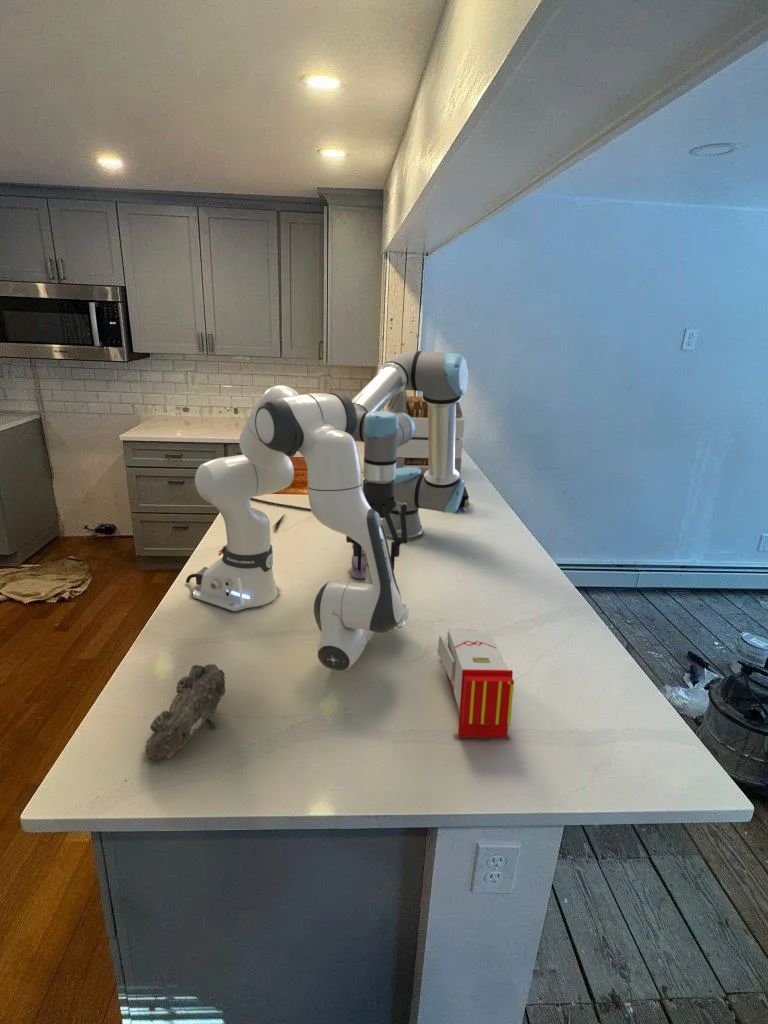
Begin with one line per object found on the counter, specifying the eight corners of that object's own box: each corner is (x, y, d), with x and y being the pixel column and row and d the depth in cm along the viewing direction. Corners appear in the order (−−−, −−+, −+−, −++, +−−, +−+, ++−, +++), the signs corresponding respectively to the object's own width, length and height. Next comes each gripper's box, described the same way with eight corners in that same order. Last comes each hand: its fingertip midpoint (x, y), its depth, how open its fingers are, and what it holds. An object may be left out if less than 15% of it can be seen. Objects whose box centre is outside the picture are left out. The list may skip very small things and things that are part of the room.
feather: (291, 508, 223) (294, 504, 222) (274, 533, 196) (277, 528, 195) (287, 506, 222) (290, 502, 222) (270, 530, 196) (272, 526, 195)
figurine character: (469, 517, 223) (463, 501, 236) (471, 500, 219) (465, 484, 233) (452, 516, 222) (447, 500, 236) (454, 499, 219) (449, 483, 232)
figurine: (357, 582, 163) (358, 534, 158) (342, 568, 171) (343, 521, 166) (386, 576, 167) (388, 529, 162) (370, 563, 176) (372, 517, 171)
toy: (488, 613, 130) (523, 677, 101) (484, 667, 133) (517, 744, 104) (435, 612, 130) (455, 676, 101) (432, 666, 133) (451, 743, 103)
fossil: (174, 665, 116) (226, 633, 111) (207, 696, 118) (259, 665, 113) (119, 753, 96) (179, 718, 91) (161, 787, 99) (221, 755, 94)
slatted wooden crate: (382, 463, 289) (386, 382, 275) (445, 464, 293) (451, 384, 279) (390, 482, 257) (394, 392, 243) (460, 483, 261) (468, 394, 247)
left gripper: (401, 618, 127) (416, 591, 140) (317, 602, 133) (338, 577, 145) (400, 642, 130) (414, 613, 142) (317, 625, 135) (337, 599, 147)
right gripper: (420, 475, 137) (414, 562, 144) (335, 473, 135) (334, 561, 143) (424, 484, 130) (418, 575, 137) (335, 482, 128) (334, 574, 136)
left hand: (375, 595), depth 144 cm, fingers closed on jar, 5 cm apart
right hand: (375, 567), depth 140 cm, fingers open, 7 cm apart
